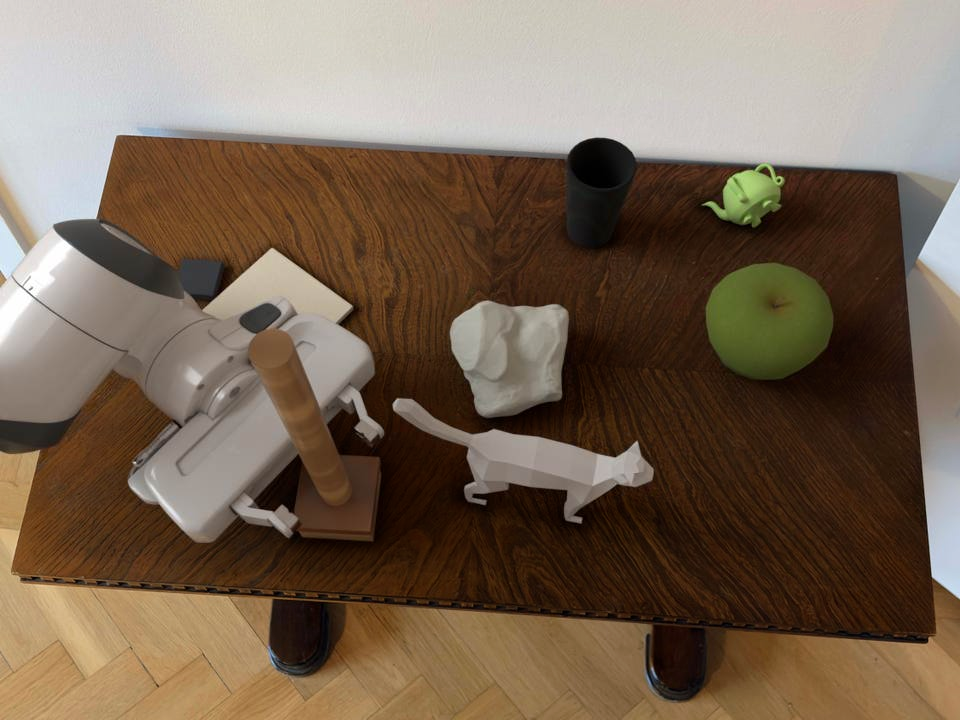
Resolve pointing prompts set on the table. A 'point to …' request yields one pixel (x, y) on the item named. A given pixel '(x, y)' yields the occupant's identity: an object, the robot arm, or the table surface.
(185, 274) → the felt pad
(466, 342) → the decorative stone
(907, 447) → the table surface
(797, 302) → the apple
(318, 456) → the wooden post stand
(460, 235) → the table surface
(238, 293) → the tile
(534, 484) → the cat figurine
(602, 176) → the cup
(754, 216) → the green kettle
